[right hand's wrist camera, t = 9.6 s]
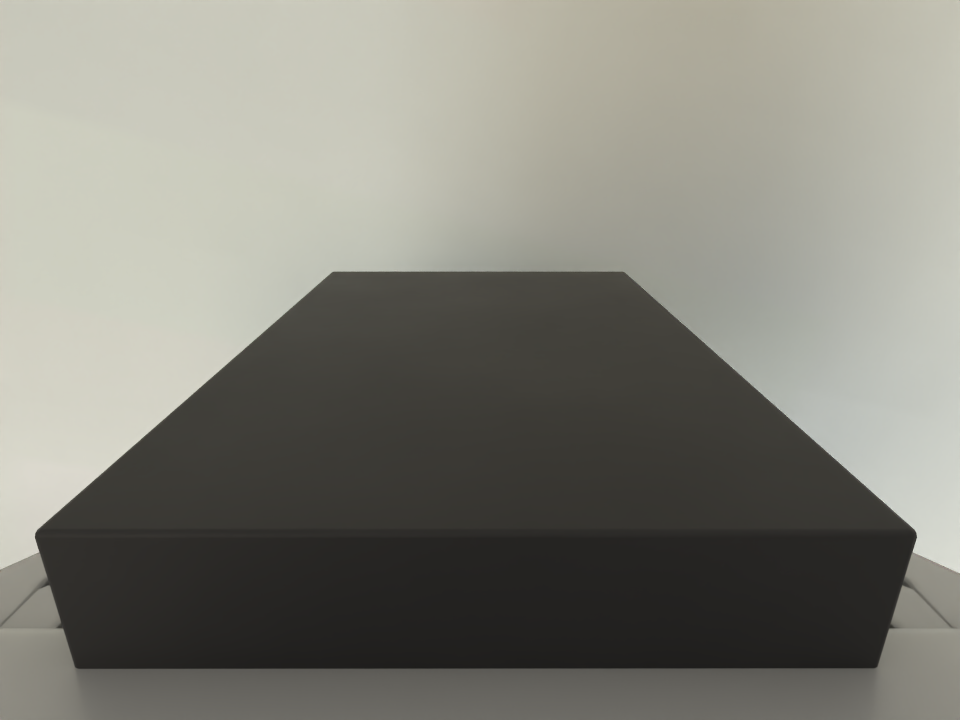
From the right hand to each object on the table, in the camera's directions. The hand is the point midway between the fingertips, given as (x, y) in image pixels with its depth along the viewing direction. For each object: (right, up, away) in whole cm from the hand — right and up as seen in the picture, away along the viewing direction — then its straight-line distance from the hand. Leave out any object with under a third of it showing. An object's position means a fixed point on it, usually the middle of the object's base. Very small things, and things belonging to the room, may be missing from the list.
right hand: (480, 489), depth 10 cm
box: (0, -6, +6) cm, 9 cm away
